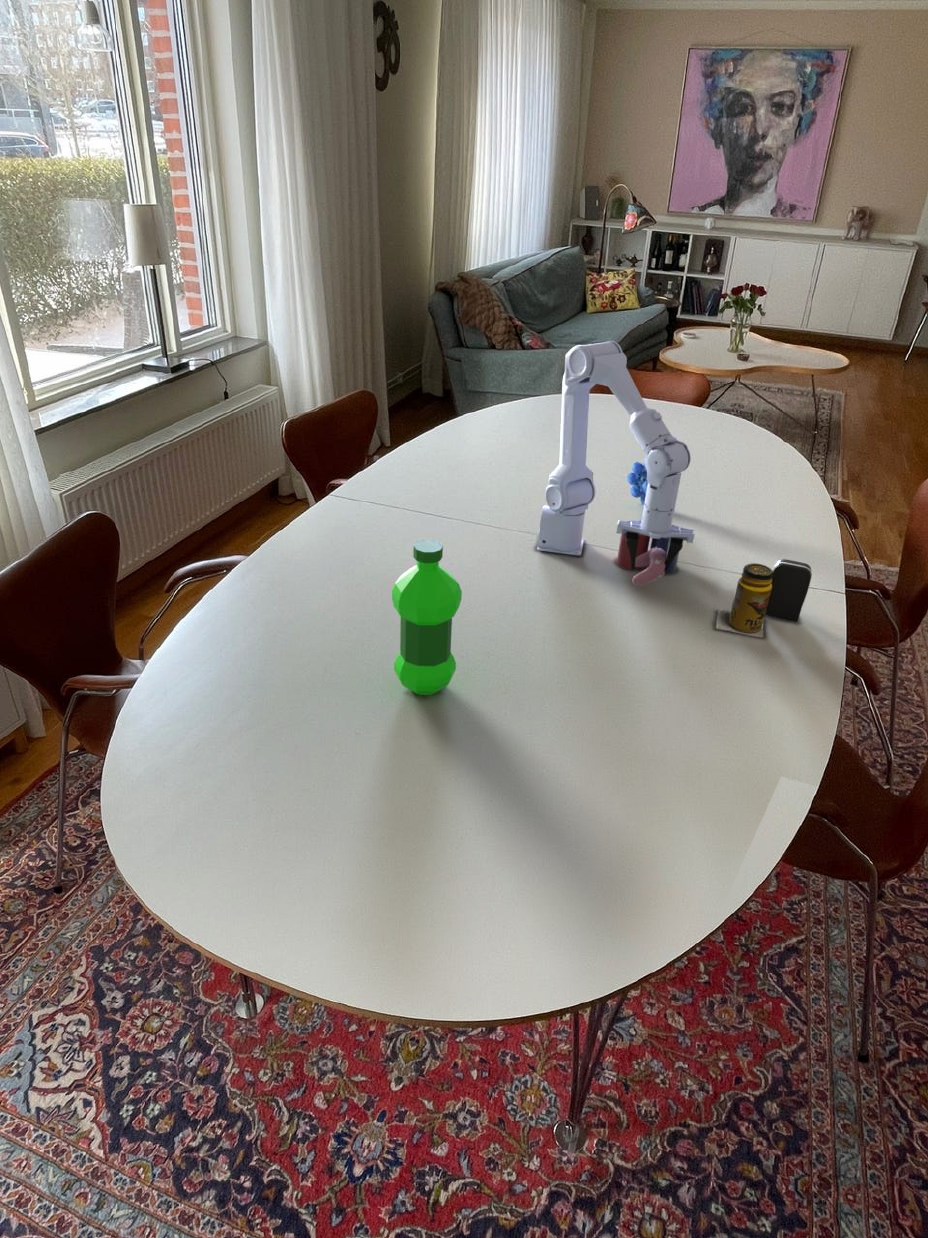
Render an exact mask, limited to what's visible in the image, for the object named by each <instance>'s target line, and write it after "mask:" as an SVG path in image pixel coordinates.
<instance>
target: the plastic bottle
mask: <svg viewBox="0 0 928 1238" xmlns="http://www.w3.org/2000/svg"><path fill="white" fill-rule="evenodd" d="M443 550H444V546H443V545H442V543H441V542H439V541H436V540H434V539H433V540H431V539H422V540H420V541H416V542H415V543H414V544H413V554H412V555H413V556H412V557H413V558H414V560H415V561H416V565H414V566H413V567H410V568H409V569H408V570H406V571H405V572H404V573H402V574H401V575H400V576H399V578H398V579H397V581H395V584H394V585H393V588H392V591H391V600H392V605H393V608H394V609H395V611H396V612H397V613H398V616H400V634H399V635H400V639H399V642H400V644H399V645H400V647H399V648H400V649H399V653H398V654H397V656H396V658H395V661H394V663H393V670H394V672H395V674H396V676H397V678H398V680H399V682H400V684H401V685H402V686H403V687H404V688H406V689H407V690H410V691H411V693H413V694H416V695H419V696H431V695H433V694H435V693H438V692H439V691H440V690H442V689H444V688H446V687H447V686H448V685H449V684H450V682H451V680H452V678H453V676H454V674H455V672H456V670H457V662H456V659H455V657H454V655H453V654H452V651H451V649H452V628H453V618H454V617H455V615H456V613H457V612H458V610H459V608H460V605H461V601H462V593H463V592H462V589H461V585H460V583H459V582H458V581H457V579H455V578H454V576H453V575H452V574H450V573H449V572H448V571H447V570H445V569H444V568H443V567H442V566H440V564H439V562H440V561H441V560H442V559H443V554H444V553H443Z"/></svg>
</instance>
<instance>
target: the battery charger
mask: <svg viewBox="0 0 928 1238" xmlns="http://www.w3.org/2000/svg"><path fill="white" fill-rule="evenodd" d="M772 570H773V577H772V582H771V584H772V589H771V593H770V597H769V601H768V605H767V608H766V612H765V616H767V617H771V618H774V619H778V620H783V621H788V622H794V623H798V622H799V620H800V617H801V612H802V609H803V606H804V603H805V601H806V598H807V596H808V592H809V589H810V585H811V581H812V574H813V573H812V567H811V566H810V565H809V563H805V562H801V561H797V560H792V559H786V558H781V559H778V560H777V561H776V562H775V563H774V566H773V568H772Z"/></svg>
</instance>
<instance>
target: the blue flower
mask: <svg viewBox="0 0 928 1238" xmlns="http://www.w3.org/2000/svg"><path fill="white" fill-rule="evenodd" d="M631 471H632V472H630V473H628V474H627V477H626V481H627V483H628V484H629V485H631V487H630V494H631V496H632V497H633V498H635V499H638V498H640V499H639V501H640V503H641V505H642V506H644V504H645V498H646V492H647V486H648V480H647V470H646V467H645V459H644V460H643V461H642V463H641V462H638V461H636V462H633V464H632V465H631Z"/></svg>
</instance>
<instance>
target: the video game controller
mask: <svg viewBox="0 0 928 1238" xmlns="http://www.w3.org/2000/svg"><path fill="white" fill-rule="evenodd" d="M665 559H666V552H665V551H664V550H663V549H661V548H657V547H655V548H652V549H650V548H649V549H648V551H647V552H646V553H644V554H641V555H639V556H638V557H636V561H635V566H636V567H644V566H645V567H647V566H648V565H649V566H648V567H647V568H646V569H644V570H642V571H641V572H638V573H637V574H635V575H634V576H633V578H632V584H633V585H635V586H645V585H647V584H650V583H652V582H653V581H655V580H658V579H659V578H660V577H663V576H664V575H666V574H665V571H664V569H665V564H664V563H665ZM645 567H644V568H645Z"/></svg>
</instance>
